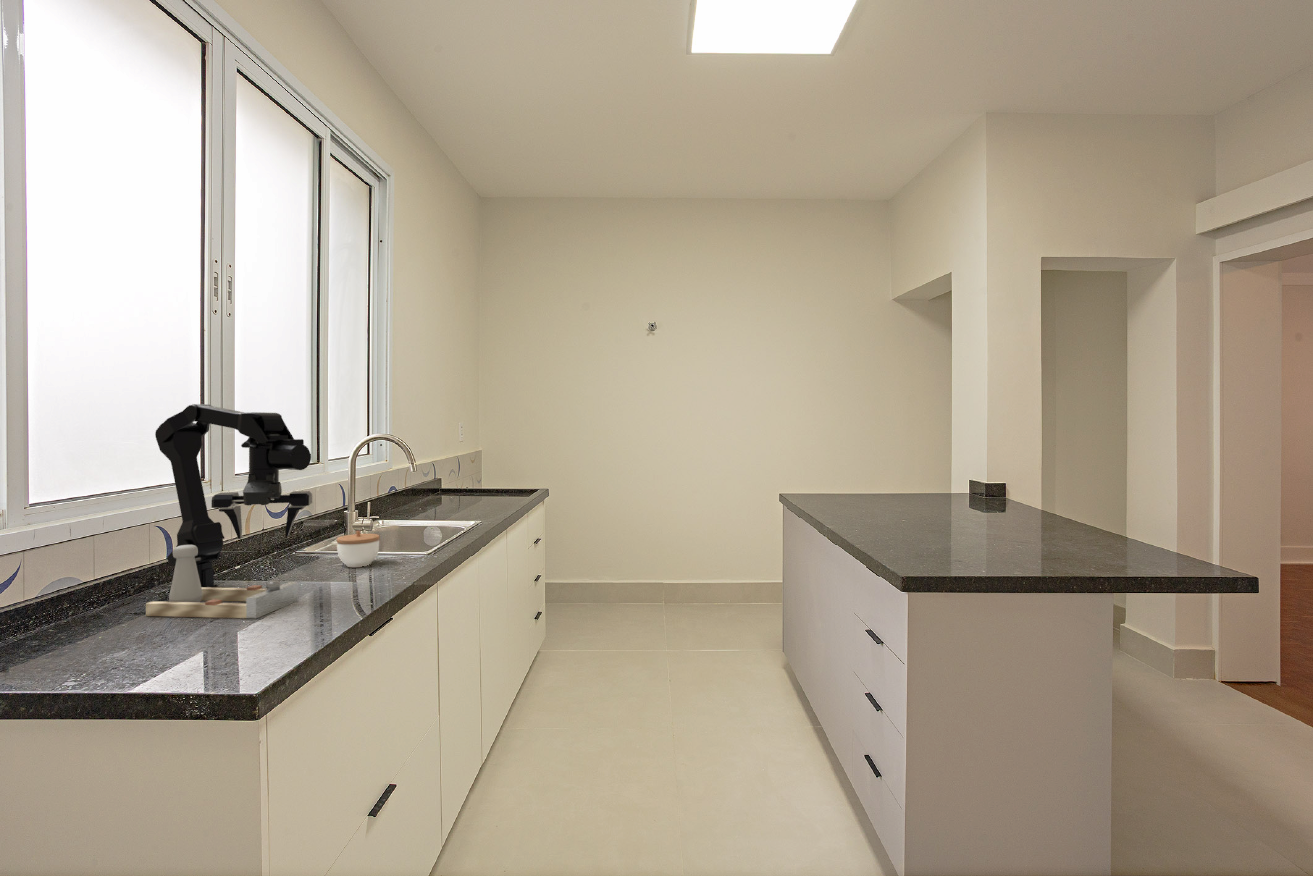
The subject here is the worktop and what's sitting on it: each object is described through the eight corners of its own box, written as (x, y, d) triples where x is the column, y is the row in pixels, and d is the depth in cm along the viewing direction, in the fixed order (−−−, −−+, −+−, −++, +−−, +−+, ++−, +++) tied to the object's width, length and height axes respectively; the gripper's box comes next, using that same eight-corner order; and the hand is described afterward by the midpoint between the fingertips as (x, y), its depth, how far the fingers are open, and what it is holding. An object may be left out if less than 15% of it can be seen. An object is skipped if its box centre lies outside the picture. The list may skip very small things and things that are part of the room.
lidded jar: (337, 571, 169) (336, 535, 169) (336, 563, 178) (335, 529, 178) (381, 566, 174) (381, 532, 174) (378, 559, 183) (378, 526, 183)
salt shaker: (184, 611, 132) (183, 548, 132) (161, 610, 133) (160, 547, 133) (209, 604, 138) (208, 543, 138) (187, 602, 139) (186, 542, 139)
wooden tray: (144, 616, 129) (144, 588, 129) (198, 598, 143) (197, 573, 142) (256, 618, 127) (255, 590, 127) (299, 600, 141) (299, 574, 140)
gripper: (203, 471, 133) (203, 546, 134) (305, 471, 140) (304, 542, 140) (219, 467, 144) (218, 536, 144) (312, 467, 150) (312, 533, 151)
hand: (263, 537), depth 145 cm, fingers open, 9 cm apart
